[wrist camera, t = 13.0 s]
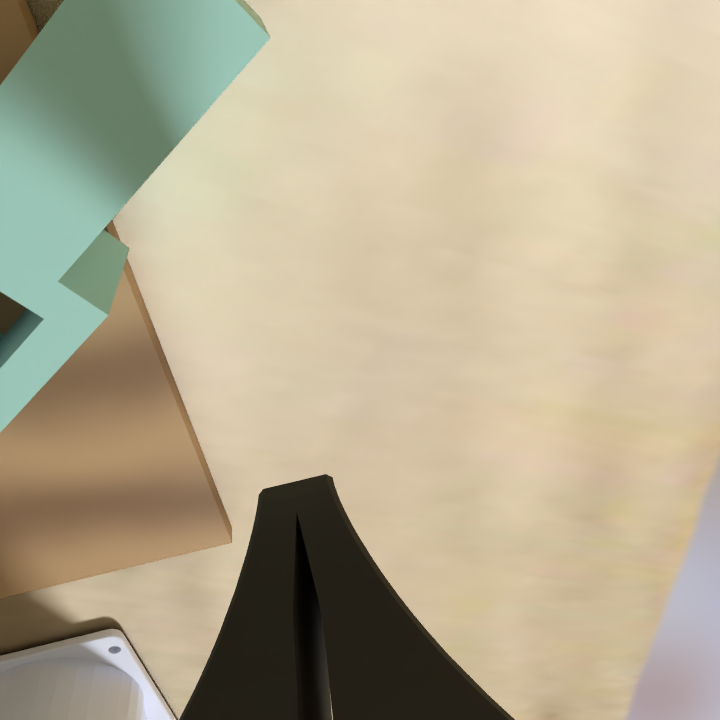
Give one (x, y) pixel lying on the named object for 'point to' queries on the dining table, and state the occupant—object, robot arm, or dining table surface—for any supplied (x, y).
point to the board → (99, 441)
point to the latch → (95, 156)
